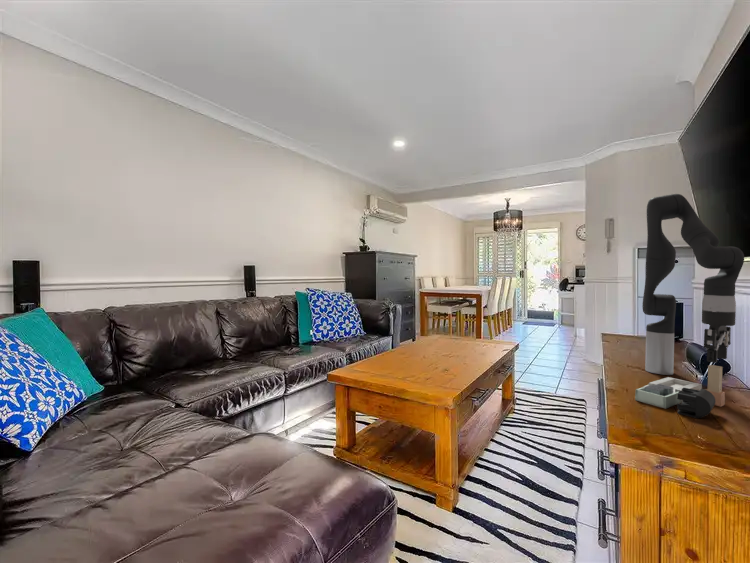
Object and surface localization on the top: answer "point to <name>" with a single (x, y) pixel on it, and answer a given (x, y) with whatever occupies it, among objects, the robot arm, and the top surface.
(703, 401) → the end cap
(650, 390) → the dark grey cube
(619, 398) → the top surface
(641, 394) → the tray
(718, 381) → the two-tone stepped bar
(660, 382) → the slot board
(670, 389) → the grey cube block
